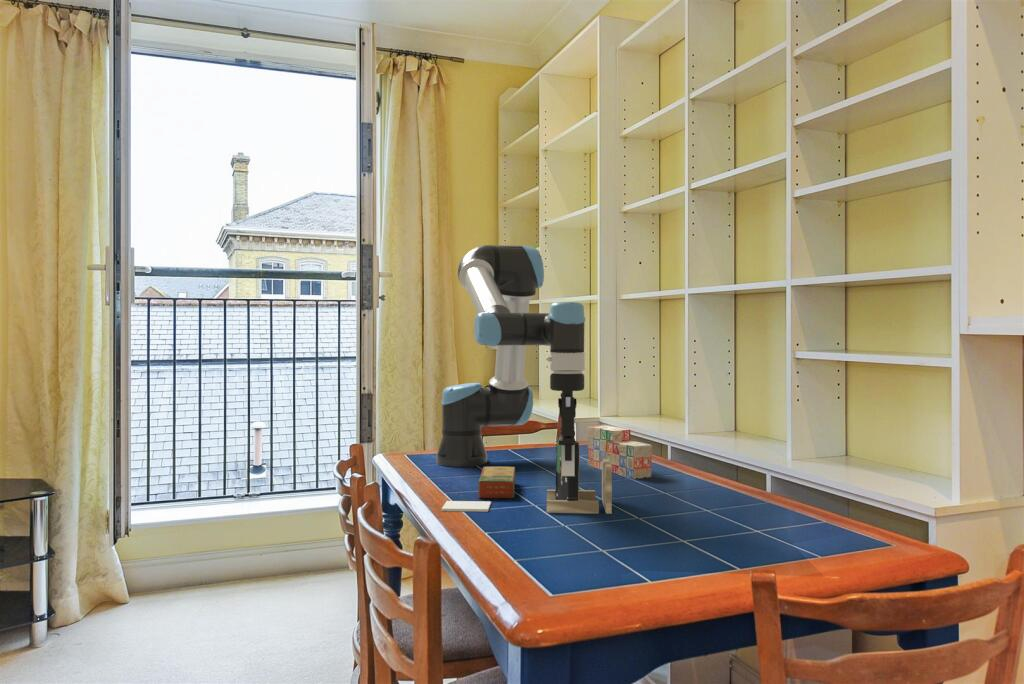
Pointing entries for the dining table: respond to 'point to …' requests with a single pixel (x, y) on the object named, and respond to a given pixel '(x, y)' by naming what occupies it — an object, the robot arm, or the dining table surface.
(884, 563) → the dining table surface
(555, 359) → the robot arm
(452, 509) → the pad
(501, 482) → the carton
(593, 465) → the stack of blocks
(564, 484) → the disk drive
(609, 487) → the wooden holder
